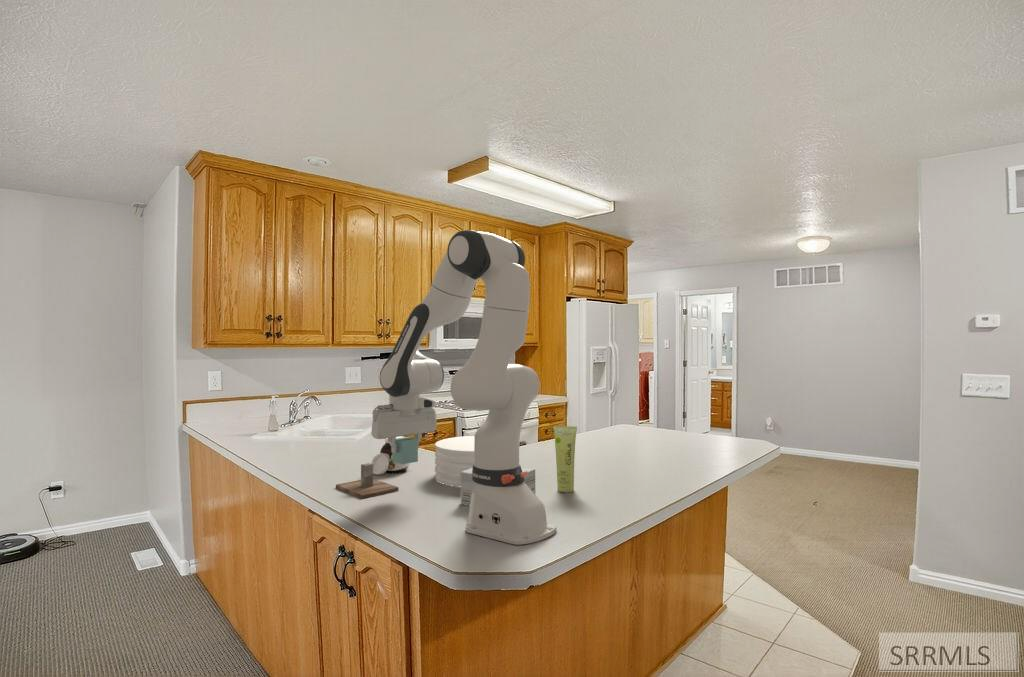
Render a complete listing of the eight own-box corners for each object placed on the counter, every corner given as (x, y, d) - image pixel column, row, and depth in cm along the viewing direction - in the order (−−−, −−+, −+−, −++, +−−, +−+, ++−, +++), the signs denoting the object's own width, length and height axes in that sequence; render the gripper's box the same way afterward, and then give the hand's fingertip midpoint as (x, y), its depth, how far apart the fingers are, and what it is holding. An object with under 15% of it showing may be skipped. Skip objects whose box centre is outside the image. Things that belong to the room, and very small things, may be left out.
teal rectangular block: (417, 461, 151) (417, 438, 151) (402, 464, 148) (402, 440, 148) (407, 459, 155) (407, 436, 155) (392, 461, 151) (392, 439, 151)
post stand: (398, 490, 157) (398, 465, 157) (362, 498, 148) (362, 472, 149) (371, 480, 168) (371, 457, 168) (335, 487, 160) (336, 463, 160)
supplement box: (536, 502, 146) (536, 468, 146) (512, 515, 135) (512, 478, 135) (486, 493, 155) (486, 461, 155) (459, 504, 144) (459, 470, 144)
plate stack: (420, 484, 165) (420, 448, 165) (455, 465, 192) (455, 434, 192) (504, 491, 157) (504, 453, 157) (528, 470, 184) (528, 438, 184)
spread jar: (412, 468, 185) (412, 436, 186) (402, 476, 174) (402, 441, 174) (379, 468, 187) (379, 435, 187) (367, 475, 175) (368, 441, 175)
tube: (559, 493, 154) (559, 427, 155) (552, 489, 159) (553, 424, 159) (576, 492, 156) (576, 426, 156) (570, 487, 161) (570, 424, 161)
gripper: (378, 406, 142) (379, 457, 142) (439, 401, 157) (439, 447, 156) (366, 405, 147) (367, 454, 146) (426, 400, 161) (427, 445, 161)
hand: (405, 450), depth 151 cm, fingers closed on teal rectangular block, 5 cm apart
